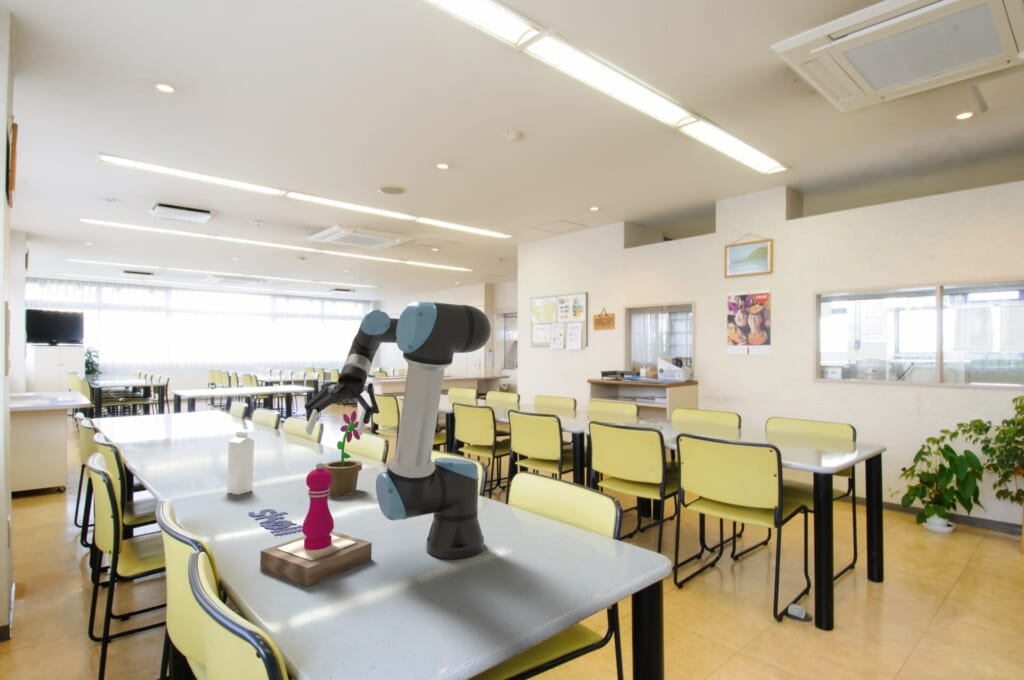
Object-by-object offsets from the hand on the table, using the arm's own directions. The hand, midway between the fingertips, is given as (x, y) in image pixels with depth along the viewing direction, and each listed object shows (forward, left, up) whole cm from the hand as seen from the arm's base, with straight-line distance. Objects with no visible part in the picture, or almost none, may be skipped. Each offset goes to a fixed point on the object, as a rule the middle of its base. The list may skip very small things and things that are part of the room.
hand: (333, 432), depth 130 cm
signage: (+32, -6, -31) cm, 45 cm away
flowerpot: (+43, -39, -31) cm, 66 cm away
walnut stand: (-5, +7, -30) cm, 32 cm away
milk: (+74, -18, -31) cm, 82 cm away
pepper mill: (-5, +7, -26) cm, 28 cm away
